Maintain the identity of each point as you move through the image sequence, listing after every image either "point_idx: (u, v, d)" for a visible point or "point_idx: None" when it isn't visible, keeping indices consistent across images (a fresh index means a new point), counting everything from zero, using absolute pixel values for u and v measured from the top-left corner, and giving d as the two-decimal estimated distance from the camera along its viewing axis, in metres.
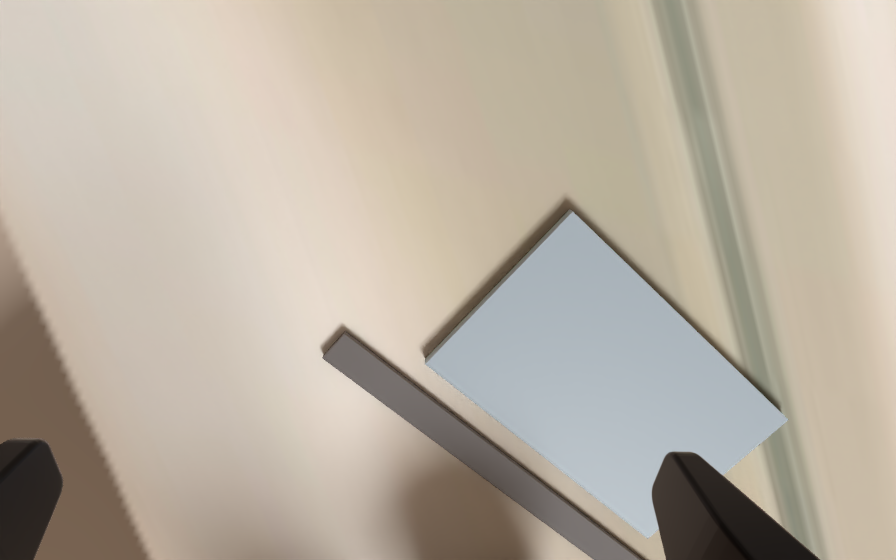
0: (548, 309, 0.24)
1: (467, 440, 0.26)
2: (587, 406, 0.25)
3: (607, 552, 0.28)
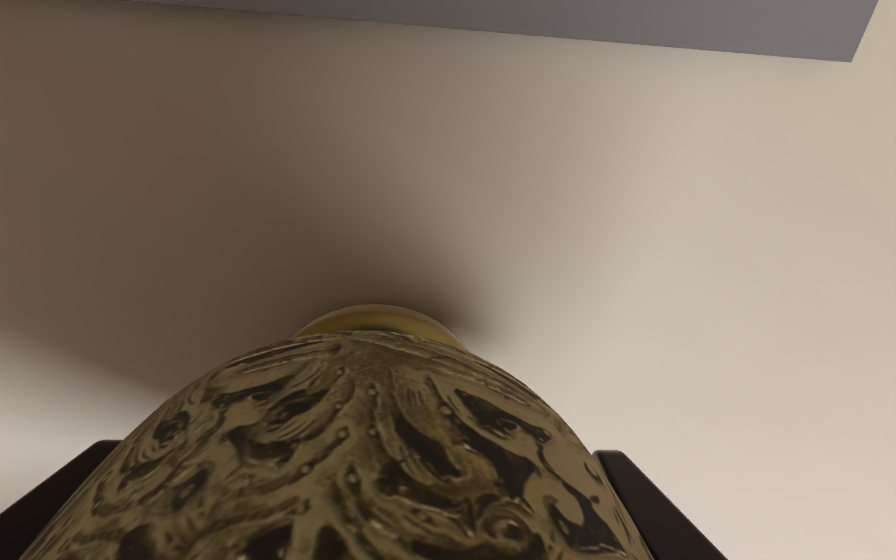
0: None
1: None
2: None
3: None
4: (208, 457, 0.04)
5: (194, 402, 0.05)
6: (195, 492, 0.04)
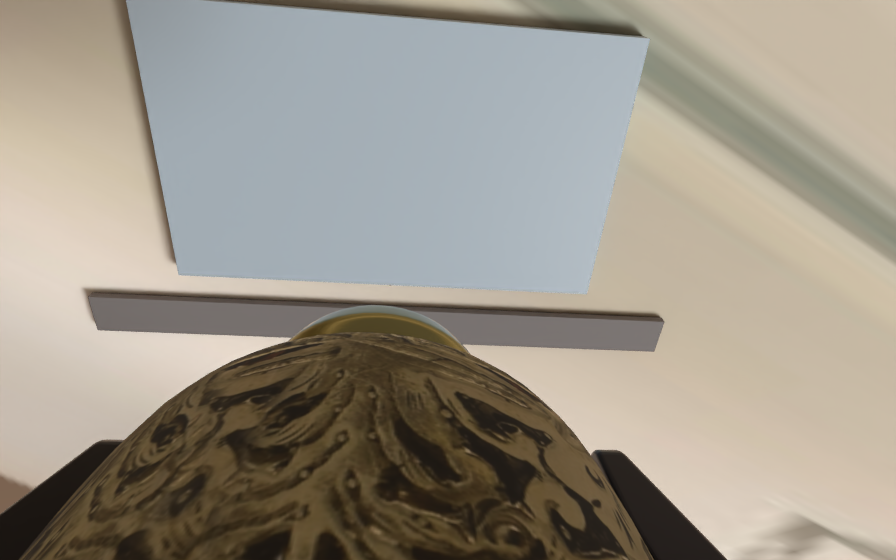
0: (226, 130, 0.17)
1: (301, 316, 0.21)
2: (378, 203, 0.19)
3: (556, 332, 0.22)
4: (205, 461, 0.04)
5: (192, 405, 0.05)
6: (194, 497, 0.04)
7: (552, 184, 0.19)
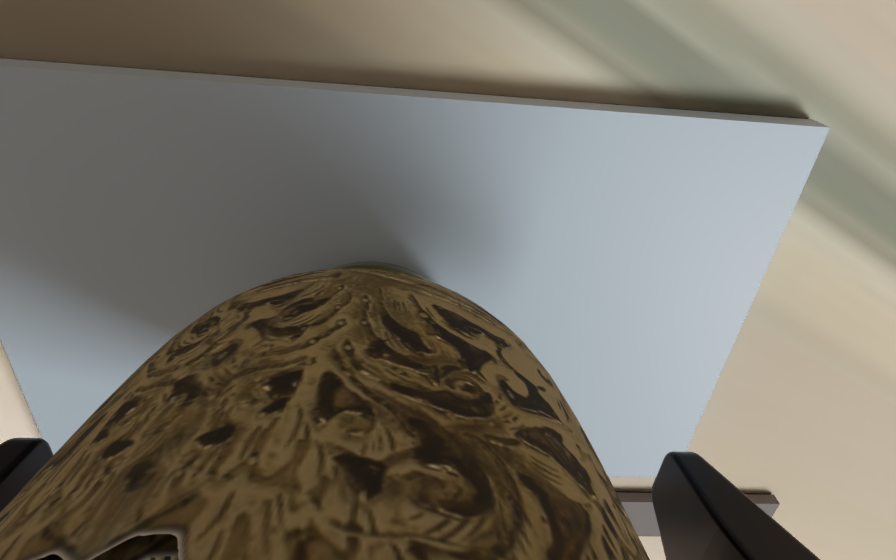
0: (102, 274, 0.10)
1: None
2: None
3: None
4: (237, 336, 0.05)
5: (222, 310, 0.06)
6: (229, 354, 0.05)
7: (638, 342, 0.12)
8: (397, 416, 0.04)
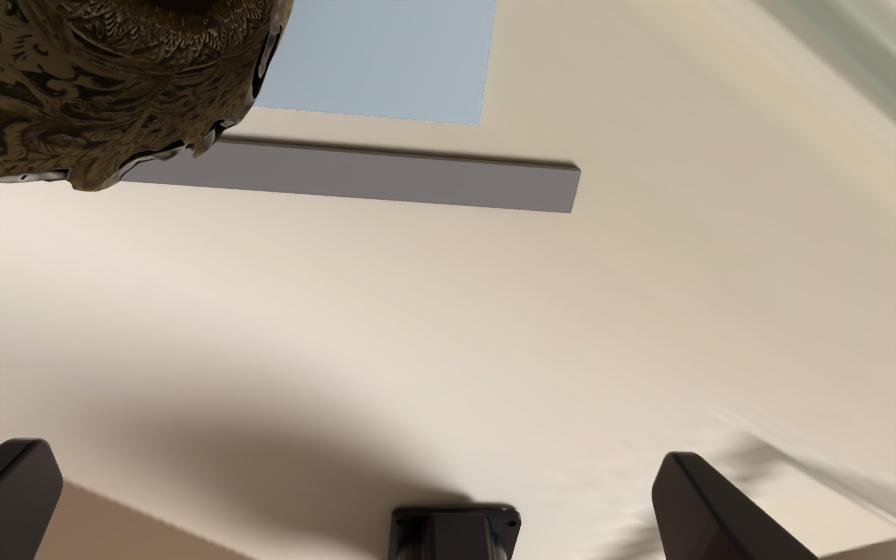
0: None
1: None
2: None
3: (447, 183, 0.18)
4: None
5: None
6: None
7: None
8: None
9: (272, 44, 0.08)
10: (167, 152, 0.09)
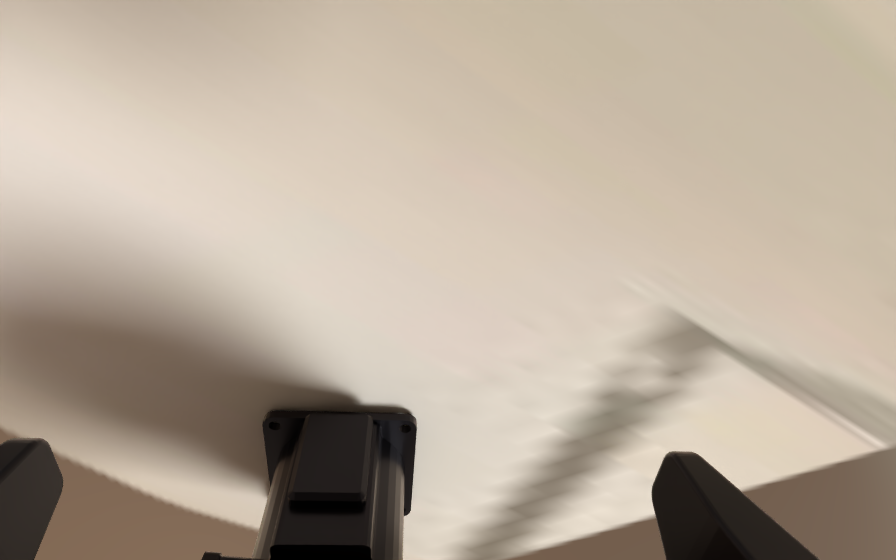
0: None
1: None
2: None
3: None
4: None
5: None
6: None
7: None
8: None
9: None
10: None
